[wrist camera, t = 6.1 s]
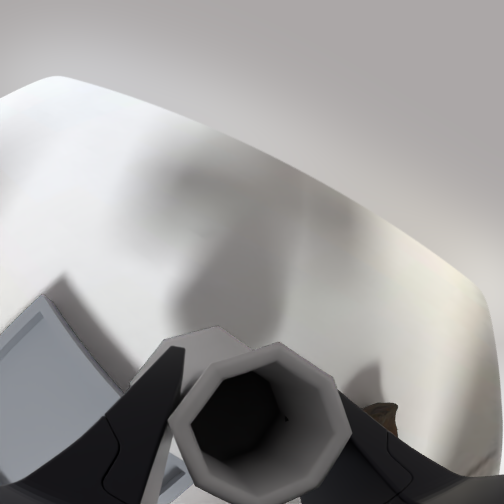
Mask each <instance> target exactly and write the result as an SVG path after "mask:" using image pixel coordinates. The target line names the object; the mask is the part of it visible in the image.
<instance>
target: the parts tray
mask: <svg viewBox="0 0 504 504" xmlns="http://www.w3.org/2000/svg"><path fill="white" fill-rule="evenodd" d="M123 394H124V393H123V391H122V390H121V389H120V388H119V387H118V386H117V385H116V384H115V383H114V382H113V380H112V379H111V378H110V377H109V376H108V375H107V374H106V372H105V371H104V370H103V369H102V368H101V367H100V365H99V364H98V363H97V362H96V360H95V359H94V358H93V357H92V356H91V354H90V353H89V352H88V350H87V349H86V348H85V347H84V345H83V344H82V343H81V341H80V340H79V339H78V337H77V336H76V335H75V333H74V332H73V331H72V329H71V328H70V326H69V325H68V324H67V322H66V321H65V319H64V318H63V316H62V315H61V314H60V312H59V311H58V309H57V308H56V306H55V305H54V303H53V302H52V301H51V300H50V299H48V298H47V297H46V296H44V295H43V294H41V295H40V296H39V297H38V298H37V299H36V300H35V301H34V302H33V303H32V304H31V305H30V306H29V307H28V308H27V309H26V310H25V311H24V312H23V313H21V314H20V315H19V316H18V317H17V318H16V319H15V320H14V321H13V322H12V323H11V324H10V325H9V327H8V328H7V329H6V330H5V331H4V332H3V333H2V334H1V335H0V485H6V484H10V483H13V482H16V481H18V480H20V479H22V478H24V477H26V476H28V475H29V474H31V473H32V472H34V471H35V470H36V469H38V468H39V467H41V466H42V465H44V464H45V463H46V462H48V461H49V460H51V459H52V458H53V457H55V456H56V455H57V454H59V453H60V452H62V451H63V450H64V449H66V448H67V447H68V446H70V445H71V444H72V443H73V442H75V441H76V440H77V439H78V438H80V437H81V436H82V435H83V434H84V433H85V432H86V431H87V430H88V429H89V428H90V427H92V426H93V425H94V424H95V423H96V422H97V421H98V420H99V419H100V417H101V416H104V414H105V413H106V412H107V411H108V410H109V409H110V407H111V406H112V405H113V404H114V403H115V402H116V401H117V400H118V399H119V398H120V397H121V396H122V395H123ZM192 484H193V480H192V478H191V476H190V474H189V472H188V469H187V467H186V465H185V463H184V461H183V460H181V459H180V458H178V457H176V456H175V455H173V454H172V453H170V452H169V455H168V459H167V463H166V467H165V472H164V476H163V480H162V485H161V489H160V494H159V498H158V503H157V504H170V503H171V502H172V501H173V500H175V499H176V498H177V497H178V496H179V495H181V494H182V493H183V492H184V491H185V490H186V489H188V488H189V487H190V486H191V485H192Z"/></svg>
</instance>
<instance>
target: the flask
mask: <svg viewBox="0 0 504 504" xmlns="http://www.w3.org/2000/svg"><path fill="white" fill-rule="evenodd" d="M172 345H173V346H179V347H184V348H185V349H186V353H185V363H184V373H183V380H182V386H181V393H180V399H179V405H178V407H177V408H176V409H175V411H174V412H173V413H172V415H171V416H170V417H169V419H168V423H169V426H170V428H171V431H172V433H173V438H172V442H171V446H170V451H169V452H170V453H172V454H173V455H175V456H176V457H178V458H180V459H181V460H183V461H184V463H185V465H186V467H187V469H188V472H189V474H190V476H191V478H192V480H193V483H194V485H195V486H196V487H198V488H200V489H202V490H204V491H206V492H208V493H210V494H212V495H214V496H216V497H218V498H220V499H222V500H224V501H226V502H228V503H231V504H284V503H287V502H289V501H291V500H293V499H296V498H298V497H300V496H302V495H304V494H306V493H308V492H310V491H312V490H314V489H316V488H318V487H319V486H320V485H321V483H322V482H323V480H324V479H325V477H326V476H327V474H328V473H329V471H330V470H331V468H332V467H333V465H334V463H335V462H336V460H337V459H338V457H339V455H340V454H341V452H342V450H343V449H344V447H345V445H346V443H347V442H348V440H349V438H350V436H351V434H352V431H351V428H350V425H349V422H348V419H347V416H346V413H345V410H344V407H343V404H342V401H341V399H340V396H339V393H338V390H337V387H336V384H335V382H334V379H333V377H332V376H330V375H329V374H327V373H325V372H324V371H322V370H321V369H319V368H318V367H316V366H315V365H313V364H312V363H310V362H309V361H307V360H306V359H304V358H303V357H301V356H300V355H298V354H297V353H295V352H294V351H292V350H291V349H289V348H288V347H287V346H285V345H284V344H282V343H281V342H277V343H273V344H271V345H268V346H265V347H262V348H259V349H256V350H252V349H251V348H249V347H248V346H246V345H245V344H244V343H242V342H241V341H239V340H238V339H237V338H235V337H234V336H232V335H231V334H230V333H228V332H227V331H225V330H224V329H223V328H221V327H220V326H219V325H218V326H215V327H211V328H207V329H204V330H200V331H196V332H192V333H188V334H184V335H180V336H176V337H172V338H168V339H164V340H163V341H162V343H161V344H160V345H159V346H158V348H157V349H156V350H155V351H154V353H153V354H152V355H151V356H150V358H149V359H148V360H147V362H146V363H145V364H144V365H143V367H142V368H141V369H140V370H139V372H138V373H137V374H136V376H135V377H134V378H133V379H132V381H131V382H130V386H132V385H133V384H134V383H135V382H136V381H137V380H138V379H139V378H140V377H141V376H142V375H143V374H144V373H145V372H146V371H147V370H148V368H149V367H150V366H151V365H152V364H153V363H154V362H155V361H156V360H157V359H158V358H159V357H160V356H161V355H162V354H163V353H164V352H165V351H166V350H167V349H168V348H169V347H170V346H172ZM285 416H286V417H287V418H288V420H289V421H287V422H285Z"/></svg>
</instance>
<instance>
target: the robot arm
mask: <svg viewBox="0 0 504 504" xmlns="http://www.w3.org/2000/svg"><path fill="white" fill-rule="evenodd" d="M185 353H186V349H185V348H184V347H179V346H173V345H172V346H170V347H169V348H168V349H167V350H166V351H165V352H164V353H163V354H162V355H161V356H160V357H159V358H158V359H157V360H156V361H155V362H154V363H153V364H152V365H151V366H150V367H149V368H148V370H147V371H146V372H145V373H144V374H143V375H142V376H141V377H140V378H139V379H138V380H137V381H136V382H135V383H134V384H133V385H132V386H131V387H130V388H129V389H128V390H127V391H126V392H125V393H124V394H123V395H122V396H121V397H120V398H119V399H118V400H117V401H116V402H115V403H114V404H113V405H112V406H111V407H110V409H109V410H108V411H107V412H106V413H105V414H104V416H101V417H100V419H99V420H98V421H97V422H96V423H95V424H94V425H93V426H92V427H90V428H89V429H88V430H87V431H86V432H85V433H84V434H83V435H82V436H81V437H80V438H78V439H77V440H76V441H75V442H73V443H72V444H71V445H70V446H68V447H67V448H66V449H64V450H63V451H62V452H60V453H59V454H57V455H56V456H55V457H53V458H52V459H51V460H49V461H48V462H46V463H45V464H44V465H42V466H41V467H39V468H38V469H36V470H35V471H34V472H32V473H31V474H29V475H28V476H26V477H24V478H22V479H20V480H18V481H16V482H13V483H10V484H6V485H0V504H157V503H158V498H159V494H160V489H161V485H162V480H163V476H164V472H165V467H166V463H167V459H168V455H169V451H170V446H171V442H172V438H173V433H172V431H171V428H170V426H169V423H168V419H169V417H170V416H171V415H172V413H173V412H174V411H175V409H176V408H177V407H178V405H179V399H180V393H181V386H182V380H183V373H184V363H185ZM337 390H338V389H337ZM338 393H339V396H340V399H341V401H342V404H343V407H344V410H345V413H346V416H347V419H348V422H349V425H350V428H351V431H352V434H351V436H350V438H349V440H348V442H347V443H346V445H345V447H344V449H343V450H342V452H341V454H340V455H339V457H338V459H337V460H336V462H335V463H334V465H333V467H332V468H331V470H330V471H329V473H328V474H327V476H326V477H325V479H324V480H323V482H322V483H321V485H320V486H319V487H318V488H316V489H314V490H312V491H310V492H308V493H306V494H304V495H302V496H300V499H301V503H302V504H504V475H495V476H484V477H465V476H461V475H458V474H455V473H453V472H451V471H450V470H448V469H446V468H444V467H443V466H441V465H439V464H437V463H436V462H434V461H432V460H431V459H429V458H427V457H426V456H424V455H422V454H421V453H419V452H418V451H416V450H415V449H413V448H411V447H410V446H409V445H407V444H406V443H404V442H403V441H402V440H400V439H399V438H398V437H396V436H395V435H394V434H392V433H391V432H390V431H387V429H386V428H385V427H383V426H382V425H381V424H379V423H378V422H377V421H376V420H374V419H373V418H372V417H371V416H369V415H368V414H367V413H366V412H364V411H363V410H362V409H361V408H359V407H358V406H357V405H356V404H354V403H353V402H352V401H351V400H350V399H348V398H347V397H346V396H345V395H344V394H342V393H341V392H340V391H339V390H338ZM287 421H289V420H288V418H287V417H286V416H285V422H287Z"/></svg>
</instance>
